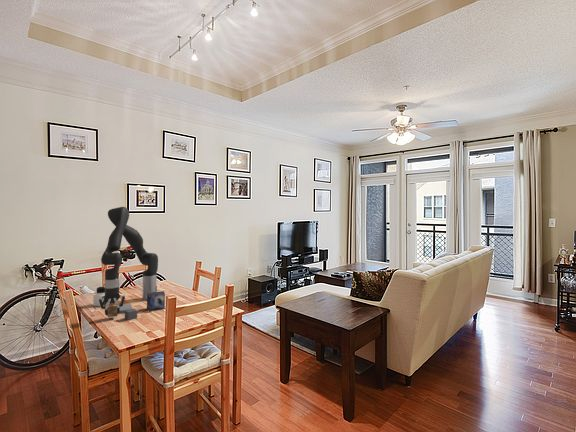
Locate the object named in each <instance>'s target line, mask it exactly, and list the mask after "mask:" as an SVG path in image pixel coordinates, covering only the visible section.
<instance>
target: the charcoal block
mask: <svg viewBox="0 0 576 432" xmlns="http://www.w3.org/2000/svg"><path fill="white" fill-rule="evenodd" d="M124 319H125V320H127V321H132V320H135V319H138V310H137V309H135V308H132V309H129V310H125V313H124Z"/></svg>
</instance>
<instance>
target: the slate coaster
mask: <svg viewBox="0 0 576 432" xmlns="http://www.w3.org/2000/svg"><path fill="white" fill-rule="evenodd" d="M132 307H133V306H132V304H131V303H127V304H126V303H124V304H123V306H121V307H120V312H119V313H118V314H117V315H120V314H121V315H122V314H125V310H129V309H133V308H132Z"/></svg>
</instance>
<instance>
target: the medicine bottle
mask: <svg viewBox="0 0 576 432" xmlns="http://www.w3.org/2000/svg"><path fill="white" fill-rule="evenodd" d="M92 296H93V297H92V299H93V300H92V303H93V304H92V306H93V307H101V306H100V303H99V299H102V298H104V296H105V286H98V287H97V288H96V294H93V295H92ZM102 303H103V306H105V305H106V301H105V300H103V302H102Z"/></svg>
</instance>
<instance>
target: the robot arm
mask: <svg viewBox="0 0 576 432" xmlns="http://www.w3.org/2000/svg"><path fill="white" fill-rule="evenodd" d="M107 217H108V219H109V221H110V222H111V224H113V226H115V227H114V229H113V230H112V232H111V233H110V235H109V237H108V240H107V241H108V242H107V245H106V248H105V250H104V252H103V253H102V256H101V259H100V261H101V264H102V265H105V266H111V265H113V267H111V268H107V269H106V270H105V271H104V287H105V296H104V298H102V299H99V303H100V306H99V307H100V309H101V310H104V315H105V316H107V317H108V310H107V308H108V307H109V306H110V305H111V304H115V306H116V305H117V315H119V314H118V313H119V312H120V307H121V306H123V305H124V304H125V299H126V297H125V295H120V279H119V278H120V277H119V272H120V271H119V270H120V266H121V264H122V258H123V256H122V254H121V253H119V250H120V249H121V244H122V238H123V237H124V239H125V240H126V242H127V243H128V245H129V247H130V248H131V249H132V251H133V252H134V253H135V255H136V256H137V258H138V261H139V263H140V264H141V265H143V266H147V269H146V270H143V271H142V300H143V301H147V293H150V292H158V286H157V274H158V273H157V272H158V267H159V256H158V255H157V253H154V252H147V250H146V249H145V248H144V239H143V237H142V235H141V233H140V232H139V231H138V230H137V229H135V228H133V227H131V226H129V225H128V221H129V218H130V212H129V209H128V208H127V207H125V206H120V207H115V208H110V209H109V210H108V211H107ZM119 299H120V303H119V302H118V301H119ZM103 300H105V301H106V305H105V306H103V303H102V302H103Z"/></svg>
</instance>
